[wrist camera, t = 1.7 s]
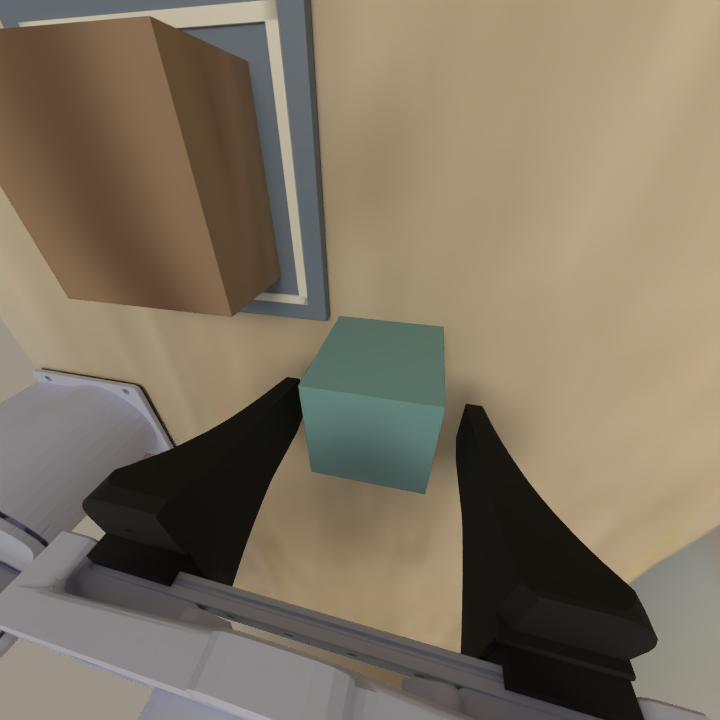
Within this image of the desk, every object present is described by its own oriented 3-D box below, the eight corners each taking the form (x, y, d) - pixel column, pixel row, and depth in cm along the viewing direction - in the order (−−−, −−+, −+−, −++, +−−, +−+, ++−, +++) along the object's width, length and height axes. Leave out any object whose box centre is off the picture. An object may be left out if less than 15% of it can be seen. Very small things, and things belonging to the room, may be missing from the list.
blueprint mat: (141, 295, 17) (131, 300, 16) (7, -4, 10) (-18, -12, 10) (329, 315, 15) (325, 322, 14) (307, -37, 8) (298, -50, 8)
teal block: (343, 391, 18) (311, 471, 13) (340, 315, 15) (298, 385, 10) (428, 404, 17) (425, 494, 12) (443, 325, 14) (445, 407, 9)
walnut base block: (149, 266, 15) (68, 298, 11) (69, 70, 11) (-90, 36, 7) (281, 277, 13) (231, 316, 10) (247, 60, 9) (149, 16, 6)
